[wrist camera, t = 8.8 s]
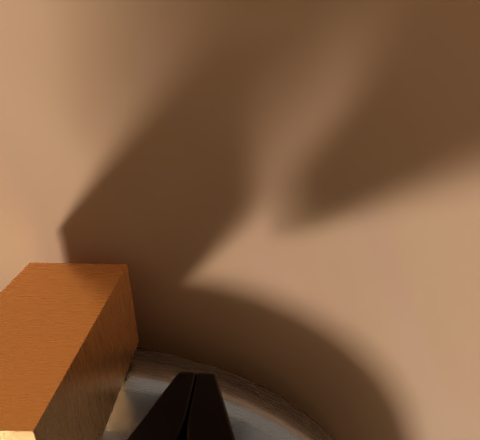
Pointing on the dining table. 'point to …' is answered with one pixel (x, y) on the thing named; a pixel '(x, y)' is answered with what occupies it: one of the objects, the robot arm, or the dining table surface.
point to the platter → (104, 364)
